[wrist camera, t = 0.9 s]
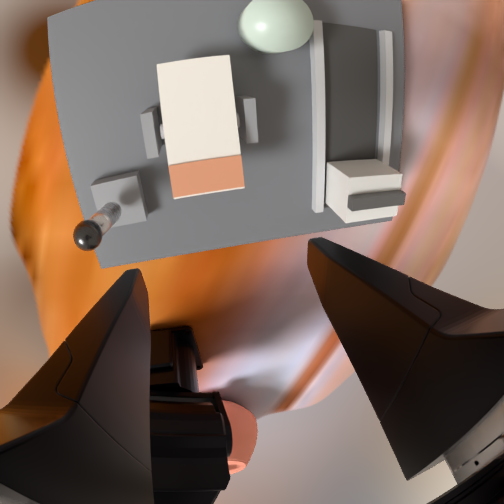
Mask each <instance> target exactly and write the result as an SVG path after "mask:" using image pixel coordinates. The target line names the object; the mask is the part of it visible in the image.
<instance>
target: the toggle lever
mask: <svg viewBox="0 0 504 504" xmlns="http://www.w3.org/2000/svg"><path fill="white" fill-rule="evenodd" d="M121 214H122V210H121V207H120V205H119V204H118V203H116V202H108V203H107V204H105V205H104V206H103V207H102V208H101V209H100V210H98V211H97V212H96V213H95V214H94V215H93V216H92V217H91V218H90V219H88V220H84V221H82V222H80V223H79V224H78V225H77V226H76V227H75V230H74V233H73V238H74V242H75V244H76V245H77V247H78V248H80V249H81V250H84V251H92V250H94V249H96V248H97V247H98V246H99V245H100V243H101V241H102V236H103V235H104V234H105V233H106V232H107V231H108V230H109V229H110V228H111V227H112V226H113V225H114V224H115V223H116V222H117V221H118V220H119V218H120V217H121Z"/></svg>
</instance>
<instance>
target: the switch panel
mask: <svg viewBox="0 0 504 504" xmlns="http://www.w3.org/2000/svg"><path fill="white" fill-rule="evenodd" d="M251 1H252V0H95V1H92V2H89V3H86V4H82V5H79V6H77V7H74V8H71V9H68V10H66V11H63V12H60V13H57V14H55V15H52V16H50V17H48V18H47V19H48V39H49V52H50V63H51V72H52V80H53V87H54V94H55V101H56V107H57V113H58V118H59V124H60V129H61V134H62V138H63V143H64V148H65V152H66V156H67V160H68V164H69V168H70V172H71V176H72V180H73V184H74V187H75V191H76V194H77V198H78V201H79V205H80V208H81V211H82V214H83V218H84V220H88V219H90V218H91V217H92V216H93V215H94V214H95V213H96V212H97V211H98V210H100V209H101V208H102V207H103V206H104V205H105V204H107V203H108V202H116V203H118V204H119V205H120V207H121V210H122V214H121V217H120V218H119V220H118V221H117V222H116V223H115V224H114V225H113V226H112V227H111V228H110V229H109V230H108V231H107V232H106V233H105V234H104V235H103V236H102V241H101V243H100V245H99V246H98V247H97V248H96V249H94V250H95V253H96V255H97V258H98V261H99V263H100V266H101V269H103V268H108V267H114V266H120V265H125V264H131V263H137V262H143V261H148V260H154V259H160V258H166V257H171V256H177V255H183V254H189V253H195V252H201V251H207V250H213V249H219V248H225V247H231V246H237V245H243V244H249V243H255V242H261V241H267V240H273V239H279V238H285V237H291V236H297V235H303V234H310V233H316V232H322V231H328V230H335V229H341V228H347V227H353V226H360V225H366V224H373V223H379V222H385V221H392V217H393V216H391V217H385V218H378V219H371V220H365V221H358V222H351V223H345V222H344V221H343V220H342V219H341V218H340V217H339V216H338V215H337V214H336V213H335V212H334V211H333V210H332V209H331V208H330V207H329V206H328V205H327V204H326V203H325V198H326V169H327V162H333V161H348V160H365V159H377V160H379V161H381V162H383V163H384V164H386V165H388V166H390V167H392V168H393V169H395V170H397V171H398V172H399V165H400V155H401V144H402V131H403V114H404V83H405V62H404V32H403V16H402V4H401V0H303V1H304V2H305V3H306V4H307V6H308V7H309V9H310V10H311V13H312V15H313V20H314V28H313V32H312V34H311V37H310V38H309V40H308V41H307V42H306V43H305V44H304V45H302V46H301V47H299V48H297V49H294V50H291V51H286V52H281V53H276V54H263V53H259V52H257V51H254V50H252V49H251V48H249V47H248V46H247V45H246V44H245V43H244V42H243V41H242V39H241V37H240V35H239V32H238V27H237V24H238V19H239V16H240V14H241V12H242V11H243V10H244V9H245V8H246V7H247V6H248V5H249V4H250V3H251ZM221 55H230V64H231V73H232V82H233V90H234V99H235V108H236V113H238V114H239V119H240V128H238V134H239V143H240V152H241V158H242V167H243V176H244V184H245V188H243V189H235V190H229V191H222V192H215V193H209V194H203V195H196V196H190V197H184V198H179V199H174V198H173V193H172V187H171V180H170V174H169V167H168V159H167V152H166V145H165V139H162V138H161V132H160V124H163V122H162V113H161V105H160V95H159V86H158V75H157V64H161V63H167V62H173V61H180V60H186V59H194V58H202V57H211V56H221Z"/></svg>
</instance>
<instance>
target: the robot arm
mask: <svg viewBox="0 0 504 504" xmlns="http://www.w3.org/2000/svg"><path fill="white" fill-rule="evenodd" d="M307 265H308V269H309V272H310V274H311V277H312V279H313V282H314V285H315V287H316V290H317V293H318V295H319V298H320V301H321V303H322V306H323V308H324V310H325V312H326V314H327V316H328V318H329V320H330V322H331V324H332V326H333V328H334V330H335V332H336V333H337V335H338V337H339V339H340V341H341V343H342V345H343V347H344V349H345V351H346V353H347V355H348V357H349V359H350V361H351V363H352V365H353V367H354V369H355V371H356V373H357V375H358V377H359V379H360V381H361V383H362V385H363V387H364V390H365V392H366V394H367V396H368V398H369V400H370V402H371V404H372V406H373V408H374V410H375V412H376V415H377V417H378V419H379V420H380V423H381V425H382V428H383V430H384V432H385V434H386V436H387V438H388V441H389V443H390V445H391V447H392V449H393V451H394V454H395V456H396V458H397V460H398V462H399V465H400V467H401V469H402V472H403V474H404V476H405V478H406V480H410V479H412V478H414V477H415V476H417V475H419V474H421V473H423V472H424V471H426V470H428V469H430V468H432V467H433V466H435V465H437V464H438V463H440V462H442V461H443V460H445V461H446V463H447V465H448V466H449V468H450V470H451V472H452V474H453V476H454V478H455V480H456V482H457V485H456V486H454V487H453V488H452V489H450V490H448V491H447V492H445V493H444V494H442V495H441V496H439V497H437V498H436V499H434V500H432V501H431V502H429V503H427V504H504V309H488V308H484V307H481V306H478V305H475V304H473V303H471V302H468V301H466V300H463V299H461V298H458V297H456V296H453V295H451V294H448V293H446V292H443V291H441V290H439V289H436V288H434V287H431V286H429V285H427V284H425V283H423V282H420V281H418V280H416V279H414V278H412V277H408V276H407V275H405V274H403V273H401V272H399V271H397V270H394V269H392V268H390V267H388V266H386V265H384V264H381V263H379V262H377V261H375V260H372V259H370V258H368V257H366V256H364V255H361V254H359V253H357V252H355V251H352V250H350V249H348V248H345V247H343V246H341V245H339V244H336V243H334V242H332V241H329V240H327V239H325V238H322V237H318V238H313V239H310V240H309V241H308V254H307ZM65 341H66V342H65ZM65 341H63V343H62V344H61V345H60V346H59V348H58V349H57V350H56V351H55V352H54V353H53V355H52V356H51V357H50V358H49V359H48V361H47V362H46V363H45V364H44V365H43V366H42V367H41V368H40V370H39V371H38V372H37V373H36V374H35V375H34V376H33V377H32V378H31V379H30V380H29V382H28V383H27V384H26V385H25V386H24V387H23V388H22V389H21V390H20V391H19V392H18V394H17V395H16V396H15V397H14V398H13V399H12V401H10V402H9V404H7V405H6V406H5V407H3V408H2V409H0V504H213V503H214V502H215V500H216V498H217V496H218V494H219V493H220V491H221V490H225V489H226V487H227V485H228V483H229V480H230V472H229V467H228V457H229V456H230V455H231V452H232V446H233V438H232V429H231V424H230V421H229V418H228V416H227V413H226V410H225V407H224V405H223V402H222V399H221V396H220V393H219V392H212V393H202V392H199V388H198V380H197V371H196V370H200V369H202V368H203V363H202V360H201V357H200V353H199V350H198V347H197V343H196V340H195V337H194V333H193V330H192V328H191V327H190V326H182V327H175V328H169V329H162V330H155V331H150V318H149V300H148V292H147V288H146V285H145V282H144V279H143V276H142V273H141V271H140V269H138V268H136V269H131V270H126V271H125V272H124V273H123V274H122V275H121V277H120V278H119V279H118V280H117V281H116V282H115V283H114V284H113V285H112V286H111V287H110V288H109V290H108V291H107V292H106V293H105V294H104V295H103V296H102V297H101V298H100V300H99V301H98V302H97V303H96V304H95V305H94V306H93V308H92V309H91V310H90V311H89V312H88V313H87V314H86V316H85V317H84V318H83V319H82V320H81V321H80V322H79V324H78V325H77V326H76V327H75V328H74V330H73V331H72V332H71V333H70V334H69V335H68V337H67V338H66V339H65Z"/></svg>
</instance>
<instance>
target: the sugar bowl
mask: <svg viewBox="0 0 504 504" xmlns="http://www.w3.org/2000/svg"><path fill="white" fill-rule="evenodd" d="M222 402H223V405H224V407H225V410H226V413H227V416H228V418H229V421H230V424H231V429H232V438H233V446H232V452H231V455H230V456H229V457H228V467H229V472H230V474H234V473H236V472H239V471H241V470H243V469H244V468H245V467H246V466H247V464H248V462H249V460H250V458H251V455H252V453H253V451H254V448H255V445H256V440H257V422H256V418H255V416H254V415H253V414H252V413H251V412H250V411H249V410H247V409H246V408H244V407H242V406H240V405H239V404H237V403H234V402H230V401H224V400H222Z"/></svg>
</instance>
